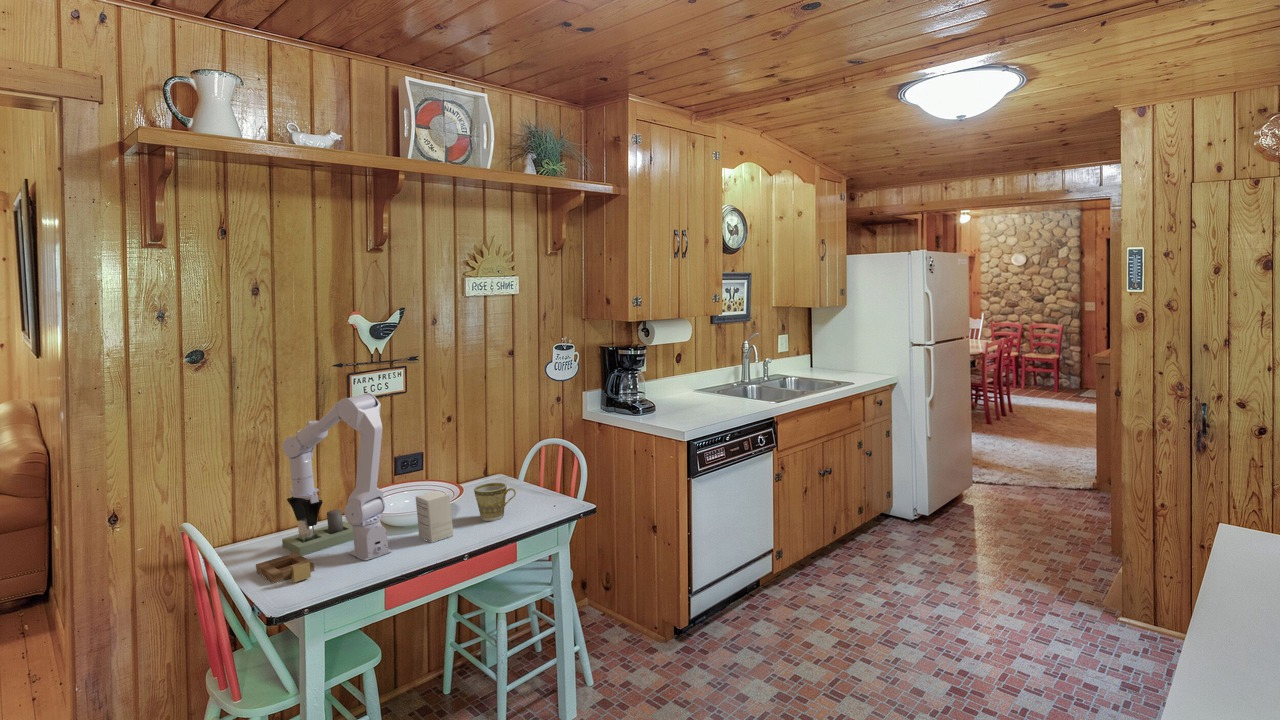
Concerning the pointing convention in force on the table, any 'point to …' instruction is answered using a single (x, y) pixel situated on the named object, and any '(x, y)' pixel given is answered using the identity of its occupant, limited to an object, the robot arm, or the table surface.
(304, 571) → the tan block with bar
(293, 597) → the table surface
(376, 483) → the robot arm
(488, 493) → the ceramic cup
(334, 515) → the tool rack
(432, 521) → the supplement box
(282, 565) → the socket holder
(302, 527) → the steel peg
